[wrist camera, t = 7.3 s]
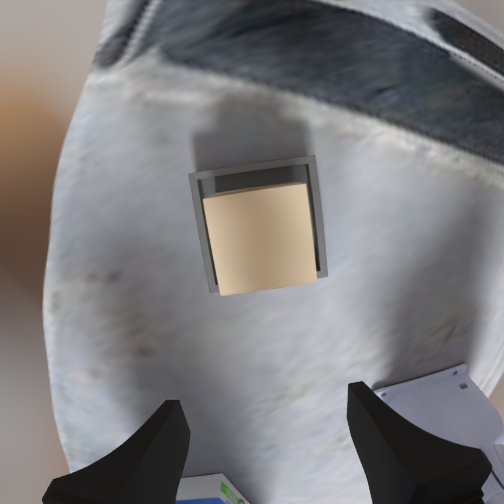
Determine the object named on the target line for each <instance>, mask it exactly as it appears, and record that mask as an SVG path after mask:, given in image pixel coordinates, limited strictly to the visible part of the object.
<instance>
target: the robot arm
mask: <svg viewBox="0 0 504 504" xmlns="http://www.w3.org/2000/svg"><path fill="white" fill-rule="evenodd" d="M467 370H468V366H467V365H466V364H462V365H459V366H456V367H453V368H450V369H447V370H444V371H441V372H438V373H435V374H431V375H428V376H425V377H421V378H418V379H415V380H411V381H407V382H404V383H400V384H396V385H392V386H389V387H384V388H380V389H377V390H375V391H372V390H371V389H370V388H369V387H368V386H367V385H366V384H365V383H364V382H363V381H360V382H355V383H349V384H348V402H347V421H348V425H349V429H350V434H351V437H352V440H353V443H354V445H355V448H356V451H357V453H358V456H359V459H360V461H361V464H362V466H363V469H364V472H365V475H366V478H367V481H368V485H369V489H370V494H371V498H372V503H373V504H504V445H503V444H504V425H503V421H502V418H501V416H500V414H499V412H498V410H497V409H496V408H495V406H494V405H493V404H492V403H491V402H490V400H489V399H488V398H487V397H486V396H485V395H484V393H483V392H482V391H481V390H480V389H479V388H478V386H477V385H476V384H475V383H474V382H473V381H472V380H471V378H470V377H469V376H468V375H467ZM384 392H385V393H384ZM382 393H384V394H382ZM189 440H190V429H189V427H188V424H187V421H186V418H185V415H184V412H183V410H182V407H181V404H180V401H179V400H166V401H165V402H164V403H163V404H162V405H161V406H160V407H159V408H158V409H157V410H156V412H155V413H154V414H153V415H152V416H151V417H150V418H149V419H148V420H147V421H146V422H145V423H144V424H143V425H142V426H141V427H140V428H139V429H138V430H137V431H136V432H135V433H134V434H133V435H132V436H131V437H130V438H129V439H128V440H126V441H125V442H124V443H123V444H122V445H120V446H119V447H118V448H116V449H115V450H114V451H112V452H111V453H109V454H108V455H106V456H105V457H103V458H101V459H100V460H98V461H96V462H95V463H93V464H91V465H89V466H87V467H85V468H83V469H80V470H78V471H76V472H73V473H71V474H68V475H65V476H62V477H59V478H56V479H53V480H52V482H51V484H50V485H49V487H48V489H47V491H46V492H45V494H44V496H43V498H42V502H43V504H175V503H176V496H177V491H178V487H179V483H180V480H181V476H182V472H183V469H184V465H185V461H186V457H187V454H188V448H189Z"/></svg>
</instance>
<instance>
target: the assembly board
mask: <svg viewBox="0 0 504 504" xmlns="http://www.w3.org/2000/svg"><path fill="white" fill-rule="evenodd" d="M189 180H190V186H191V192H192V198H193V204H194V210H195V215H196V221H197V227H198V232H199V238H200V243H201V249H202V254H203V259H204V264H205V270H206V275H207V280H208V285H209V290H210V293H213V292H220V290H219V285H218V280H217V275H216V270H215V264H214V259H213V254H212V248H211V243H210V237H209V232H208V226H207V221H206V215H205V209H204V203H203V199H204V198H206V197H208V196H210V195H212V194H214V193H216V192H222V191H229V190H235V189H241V188H248V187H254V186H261V185H268V184H275V183H282V182H290V181H297V182H301V183H305V184H306V187H307V195H308V202H309V210H310V218H311V227H312V235H313V244H314V254H315V264H316V274H317V278H322V277H328V269H327V258H326V246H325V236H324V226H323V217H322V208H321V199H320V191H319V183H318V175H317V168H316V161H315V155H314V156H305V157H296V158H287V159H279V160H272V161H264V162H257V163H250V164H244V165H237V166H231V167H225V168H218V169H213V170H207V171H201V172H196V173H190V174H189Z"/></svg>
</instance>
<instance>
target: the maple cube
mask: <svg viewBox="0 0 504 504" xmlns="http://www.w3.org/2000/svg"><path fill="white" fill-rule="evenodd" d="M203 203H204V209H205V215H206V221H207V226H208V232H209V237H210V243H211V248H212V254H213V259H214V264H215V270H216V275H217V280H218V285H219V290H220V295H221V296H224V295H231V294H239V293H247V292H254V291H261V290H268V289H275V288H282V287H289V286H296V285H302V284H309V283H315V282H317V274H316V264H315V254H314V244H313V235H312V227H311V218H310V210H309V202H308V195H307V187H306V184H305V183H301V182H297V181H290V182H282V183H275V184H268V185H261V186H254V187H248V188H241V189H235V190H229V191H222V192H216V193H214V194H212V195H210V196H208V197H206V198H204V199H203Z"/></svg>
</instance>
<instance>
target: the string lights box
mask: <svg viewBox="0 0 504 504" xmlns="http://www.w3.org/2000/svg"><path fill="white" fill-rule="evenodd" d="M175 504H250V503H249V502H248V501H247V500H246V499H245V498H244V497H243V496H242V495H241V493H240V492H239V491H238V490H237V489H236V488H235V487H234V486H233V484H232V483H231V482H230V481H229V480H228V479H227V477H226V476H225V475H224V474H223V473H219V474H211V475H203V476H195V477H185V478H181V480H180V483H179V487H178V491H177V496H176V503H175Z"/></svg>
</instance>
